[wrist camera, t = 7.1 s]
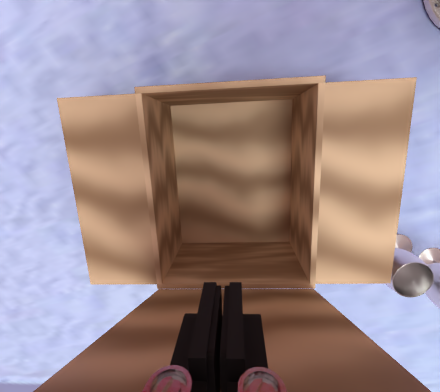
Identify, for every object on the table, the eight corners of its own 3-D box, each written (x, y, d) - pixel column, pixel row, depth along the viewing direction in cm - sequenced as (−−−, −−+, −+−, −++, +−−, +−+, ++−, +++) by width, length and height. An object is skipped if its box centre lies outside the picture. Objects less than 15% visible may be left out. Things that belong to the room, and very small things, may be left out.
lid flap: (-46, 454, 8) (-48, 476, 8) (536, 482, 7) (540, 508, 7) (159, 288, 30) (159, 294, 30) (313, 288, 29) (313, 294, 28)
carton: (112, 105, 37) (55, 91, 25) (356, 91, 34) (417, 70, 23) (131, 245, 42) (91, 288, 30) (344, 242, 40) (389, 288, 28)
